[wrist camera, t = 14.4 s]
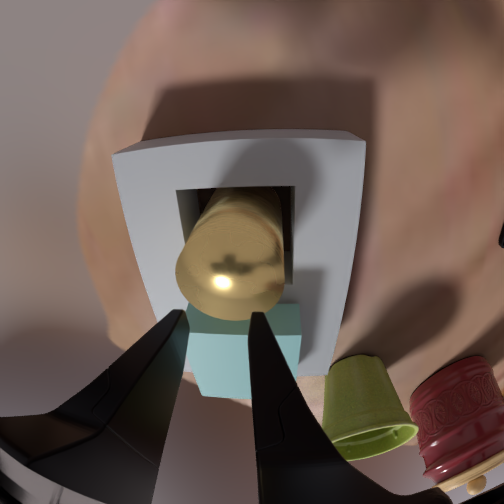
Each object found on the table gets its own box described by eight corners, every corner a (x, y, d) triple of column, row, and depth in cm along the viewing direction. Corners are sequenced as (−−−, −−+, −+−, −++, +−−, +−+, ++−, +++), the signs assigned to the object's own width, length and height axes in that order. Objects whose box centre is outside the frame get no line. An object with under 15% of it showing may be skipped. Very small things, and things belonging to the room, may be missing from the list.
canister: (483, 379, 28) (512, 471, 13) (412, 415, 32) (429, 512, 17) (490, 337, 22) (538, 458, 8) (400, 385, 27) (425, 517, 12)
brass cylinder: (281, 175, 16) (285, 231, 10) (281, 241, 18) (283, 321, 12) (205, 177, 16) (165, 233, 10) (213, 242, 18) (186, 318, 12)
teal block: (299, 303, 16) (301, 335, 14) (292, 372, 19) (293, 399, 17) (188, 302, 16) (178, 331, 14) (207, 369, 20) (202, 395, 18)
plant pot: (388, 327, 22) (415, 413, 14) (403, 373, 25) (421, 440, 18) (293, 363, 25) (295, 447, 17) (328, 400, 29) (332, 466, 21)
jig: (347, 131, 14) (365, 141, 11) (323, 342, 23) (327, 375, 20) (140, 141, 15) (111, 154, 12) (186, 339, 24) (177, 370, 21)
